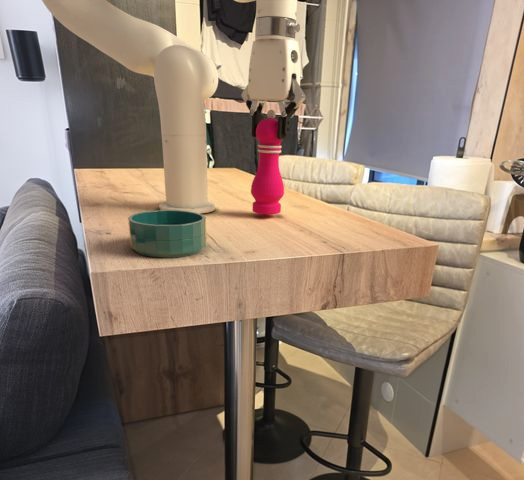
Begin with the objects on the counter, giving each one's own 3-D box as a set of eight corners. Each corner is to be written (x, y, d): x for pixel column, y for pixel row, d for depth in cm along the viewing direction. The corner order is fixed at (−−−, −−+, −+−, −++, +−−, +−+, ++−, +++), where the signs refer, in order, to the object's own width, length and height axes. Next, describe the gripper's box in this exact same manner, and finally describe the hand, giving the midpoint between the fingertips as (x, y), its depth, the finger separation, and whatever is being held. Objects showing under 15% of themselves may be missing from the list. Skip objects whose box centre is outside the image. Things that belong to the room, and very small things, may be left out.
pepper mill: (264, 207, 105) (268, 109, 96) (289, 212, 101) (296, 111, 92) (243, 211, 100) (246, 108, 91) (269, 216, 96) (274, 109, 87)
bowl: (127, 241, 78) (124, 211, 76) (197, 237, 82) (196, 208, 80) (136, 261, 68) (132, 227, 66) (214, 255, 72) (214, 223, 70)
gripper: (324, 33, 83) (315, 141, 92) (253, 37, 93) (250, 135, 101) (301, 26, 78) (293, 141, 86) (228, 32, 87) (227, 135, 96)
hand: (270, 137), depth 94 cm, fingers closed on pepper mill, 6 cm apart
